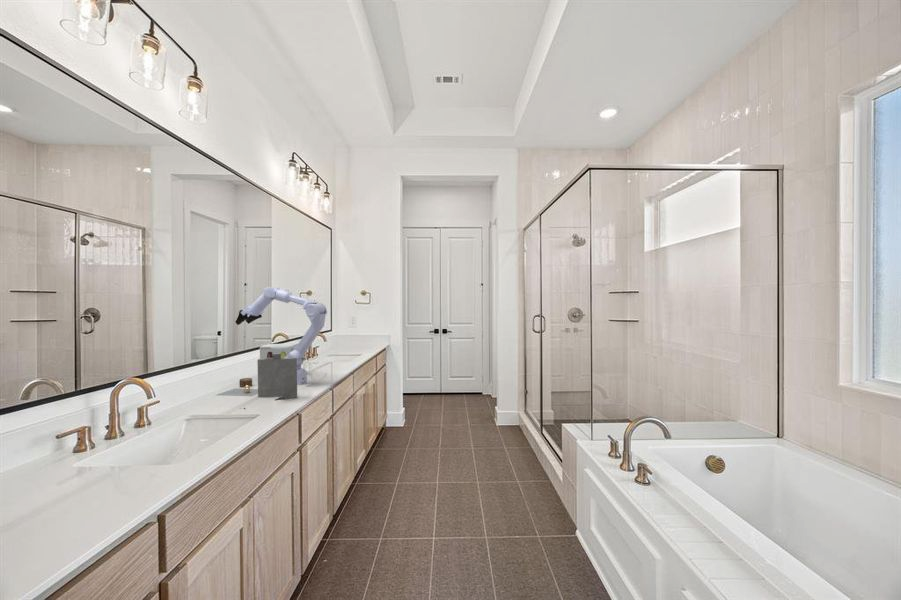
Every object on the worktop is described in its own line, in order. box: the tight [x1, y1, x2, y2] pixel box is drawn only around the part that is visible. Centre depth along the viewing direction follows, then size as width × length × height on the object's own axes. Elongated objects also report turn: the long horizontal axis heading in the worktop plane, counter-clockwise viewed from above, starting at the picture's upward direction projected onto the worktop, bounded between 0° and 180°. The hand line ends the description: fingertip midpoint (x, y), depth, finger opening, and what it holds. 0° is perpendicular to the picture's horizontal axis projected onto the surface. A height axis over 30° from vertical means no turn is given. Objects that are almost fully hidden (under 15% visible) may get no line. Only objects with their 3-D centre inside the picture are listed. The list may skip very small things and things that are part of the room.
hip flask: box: [256, 353, 298, 401], centre depth 160 cm, size 16×4×20 cm, turn 100°
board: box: [216, 388, 258, 397], centre depth 167 cm, size 18×12×2 cm, turn 81°
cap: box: [239, 377, 253, 389], centre depth 179 cm, size 5×5×5 cm
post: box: [243, 385, 251, 394], centre depth 165 cm, size 2×2×4 cm
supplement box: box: [259, 342, 299, 359], centre depth 209 cm, size 17×13×18 cm
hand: (242, 322), depth 188 cm, fingers open, 7 cm apart
